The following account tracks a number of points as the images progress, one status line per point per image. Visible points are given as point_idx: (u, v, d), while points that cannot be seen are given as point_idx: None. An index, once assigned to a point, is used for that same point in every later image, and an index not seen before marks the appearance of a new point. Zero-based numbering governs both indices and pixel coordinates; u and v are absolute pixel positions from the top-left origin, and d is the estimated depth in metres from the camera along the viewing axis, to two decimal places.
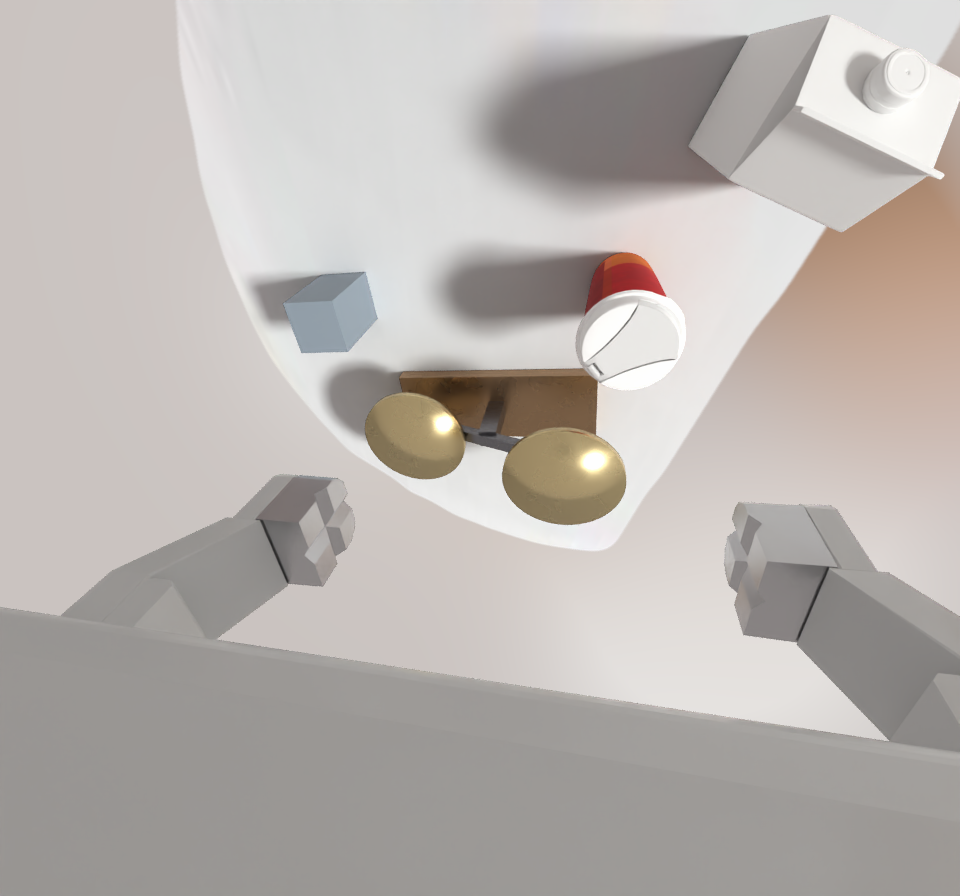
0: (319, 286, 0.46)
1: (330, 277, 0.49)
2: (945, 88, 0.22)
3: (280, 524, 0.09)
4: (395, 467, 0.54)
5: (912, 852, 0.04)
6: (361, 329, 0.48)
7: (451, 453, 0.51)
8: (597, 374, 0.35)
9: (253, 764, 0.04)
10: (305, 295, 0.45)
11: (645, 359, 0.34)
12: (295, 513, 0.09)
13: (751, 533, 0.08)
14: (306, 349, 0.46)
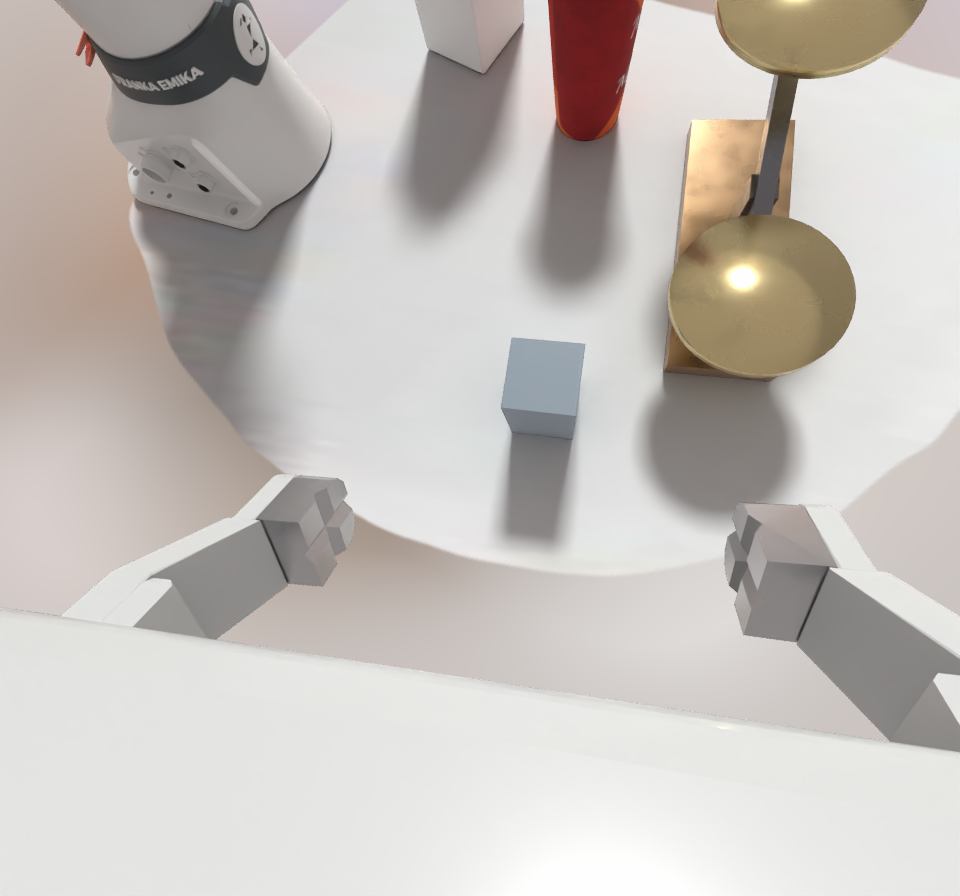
0: None
1: None
2: None
3: (280, 524, 0.09)
4: (823, 341, 0.29)
5: (912, 852, 0.04)
6: None
7: (791, 238, 0.31)
8: None
9: (253, 764, 0.04)
10: None
11: None
12: (295, 513, 0.09)
13: (751, 533, 0.08)
14: (571, 405, 0.31)
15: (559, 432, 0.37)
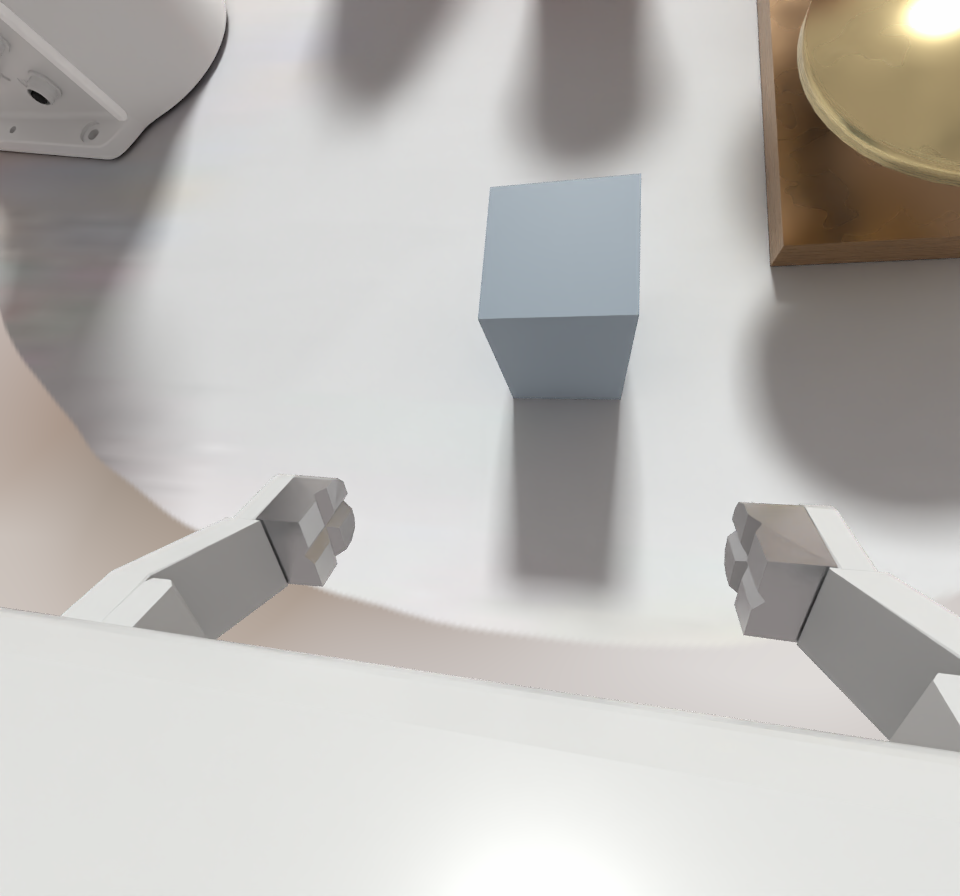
0: None
1: None
2: None
3: (280, 524, 0.09)
4: None
5: (912, 852, 0.04)
6: None
7: None
8: None
9: (253, 764, 0.04)
10: None
11: None
12: (295, 513, 0.09)
13: (751, 533, 0.08)
14: (627, 295, 0.15)
15: (598, 383, 0.20)
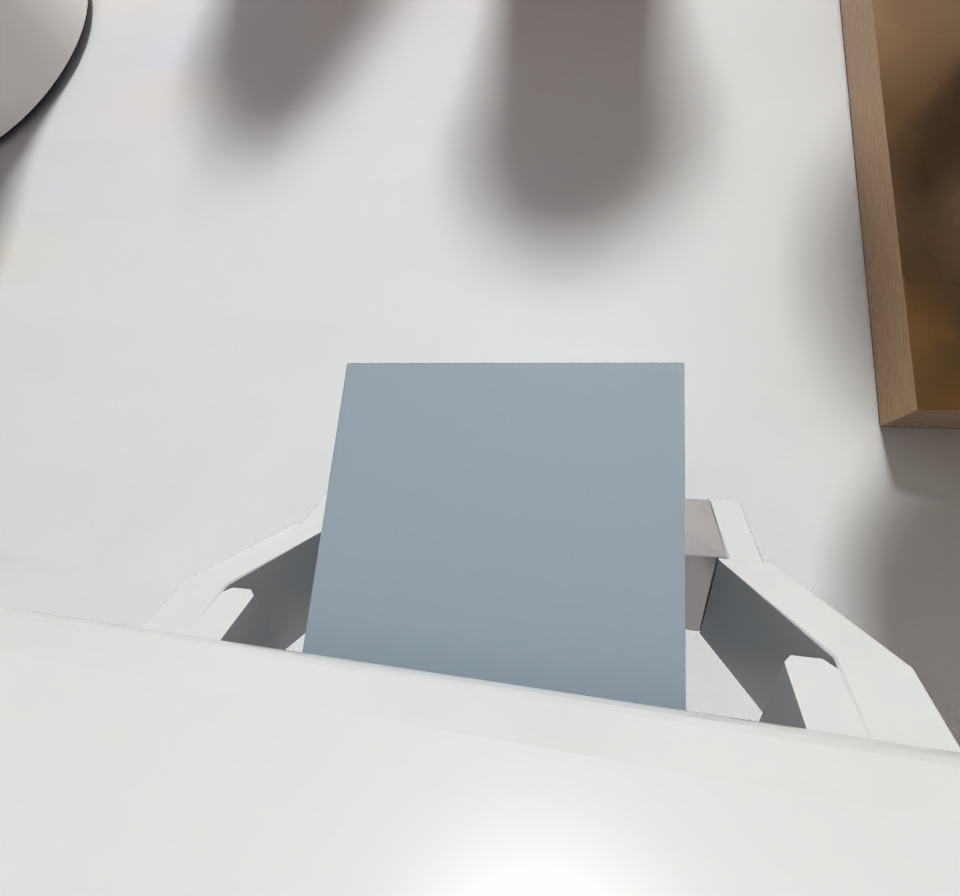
0: None
1: None
2: None
3: None
4: None
5: (912, 852, 0.04)
6: None
7: None
8: None
9: (253, 764, 0.04)
10: None
11: None
12: None
13: None
14: None
15: None
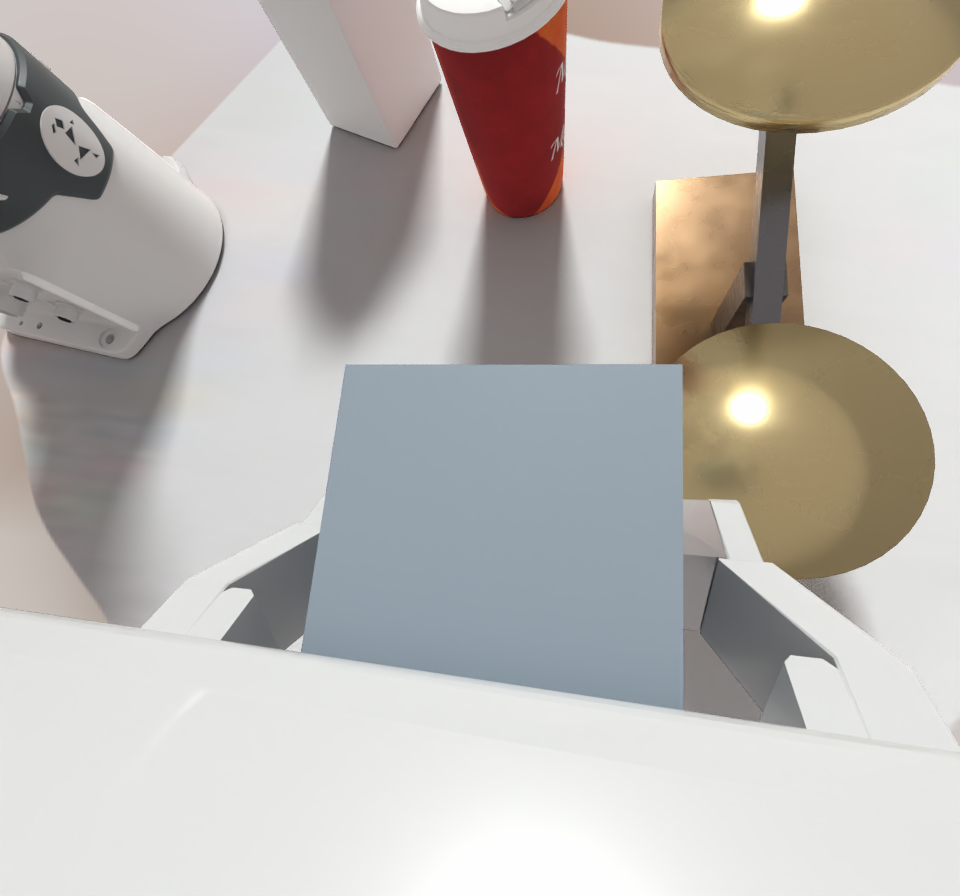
0: None
1: None
2: None
3: None
4: (892, 522, 0.18)
5: (912, 852, 0.04)
6: None
7: (817, 356, 0.20)
8: None
9: (253, 764, 0.04)
10: None
11: None
12: None
13: None
14: None
15: None
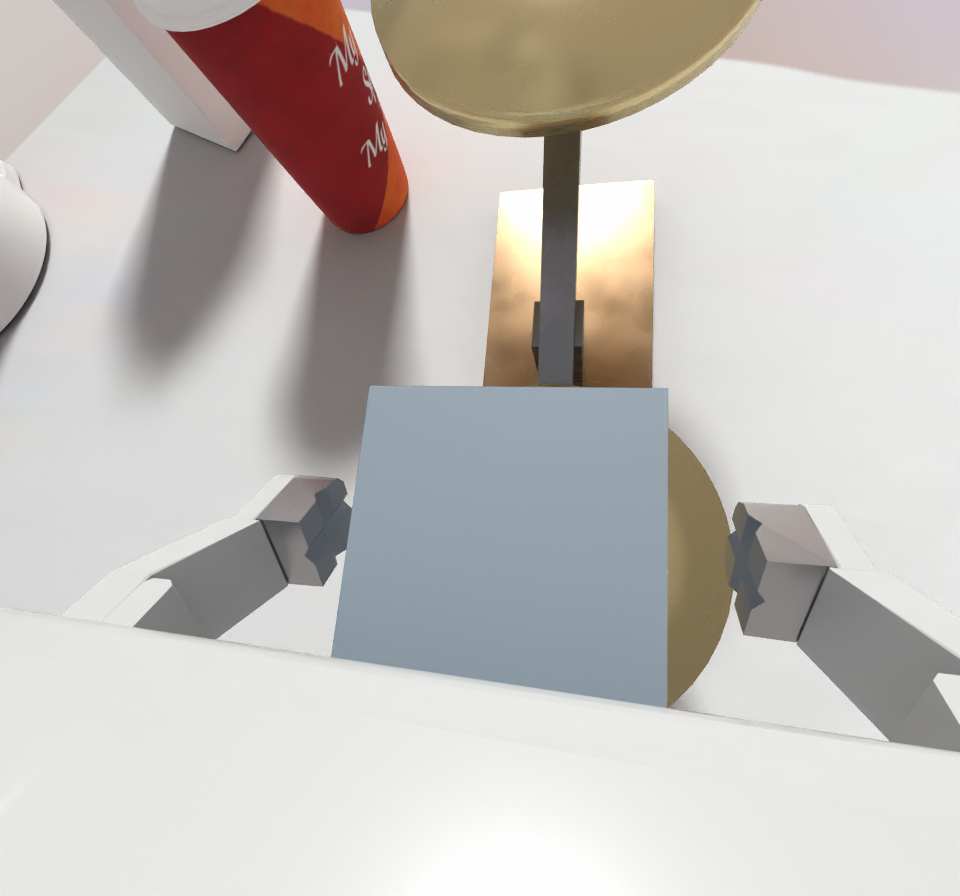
0: None
1: None
2: None
3: (280, 524, 0.09)
4: (672, 669, 0.13)
5: (912, 852, 0.04)
6: None
7: None
8: None
9: (253, 764, 0.04)
10: None
11: None
12: (295, 513, 0.09)
13: (751, 533, 0.08)
14: (639, 687, 0.06)
15: None
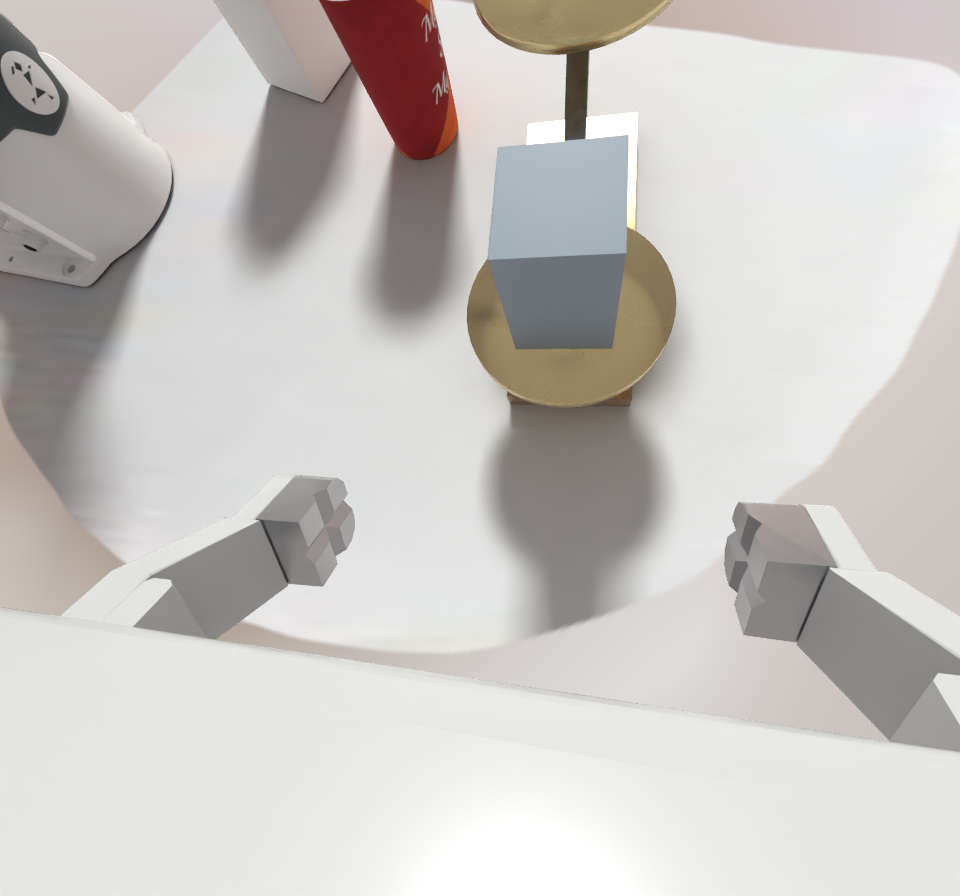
0: None
1: None
2: None
3: (280, 524, 0.09)
4: (640, 358, 0.24)
5: (912, 852, 0.04)
6: None
7: None
8: None
9: (253, 764, 0.04)
10: None
11: None
12: (295, 513, 0.09)
13: (751, 533, 0.08)
14: (616, 236, 0.17)
15: (592, 329, 0.22)
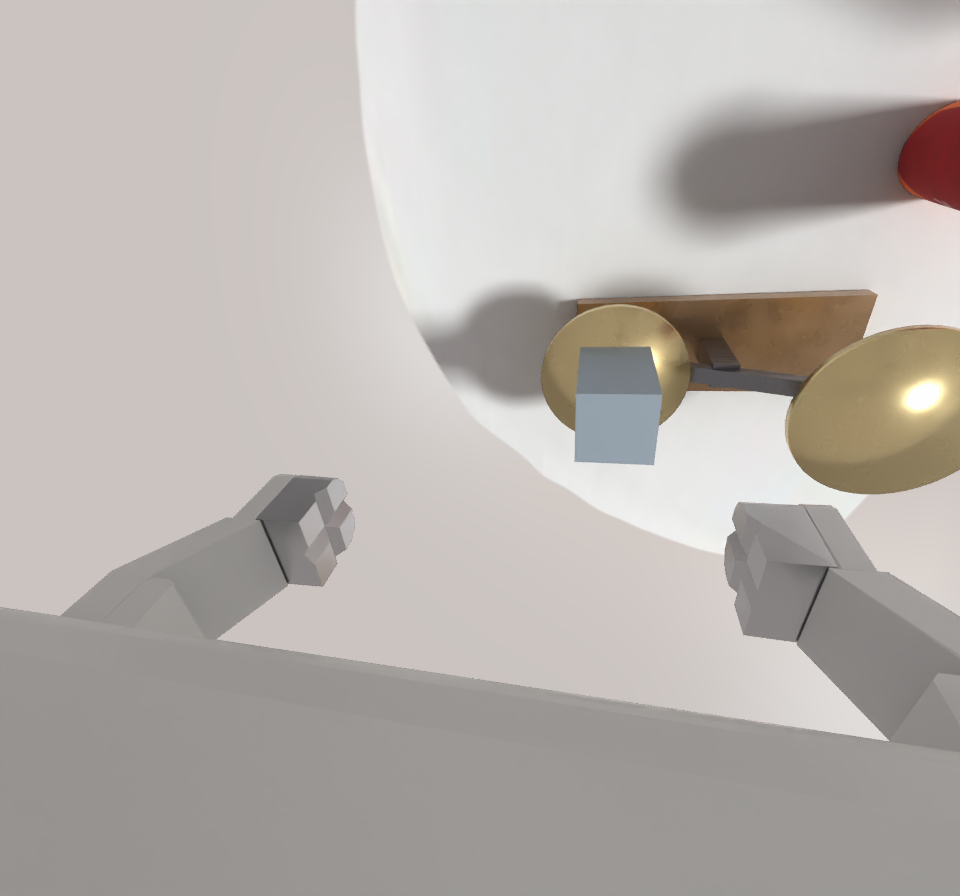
0: (603, 366, 0.32)
1: (601, 352, 0.34)
2: None
3: (280, 524, 0.09)
4: (572, 421, 0.39)
5: (912, 852, 0.04)
6: None
7: (664, 399, 0.36)
8: None
9: (253, 764, 0.04)
10: (599, 381, 0.30)
11: None
12: (295, 513, 0.09)
13: (751, 533, 0.08)
14: (585, 457, 0.31)
15: None
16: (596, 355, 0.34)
